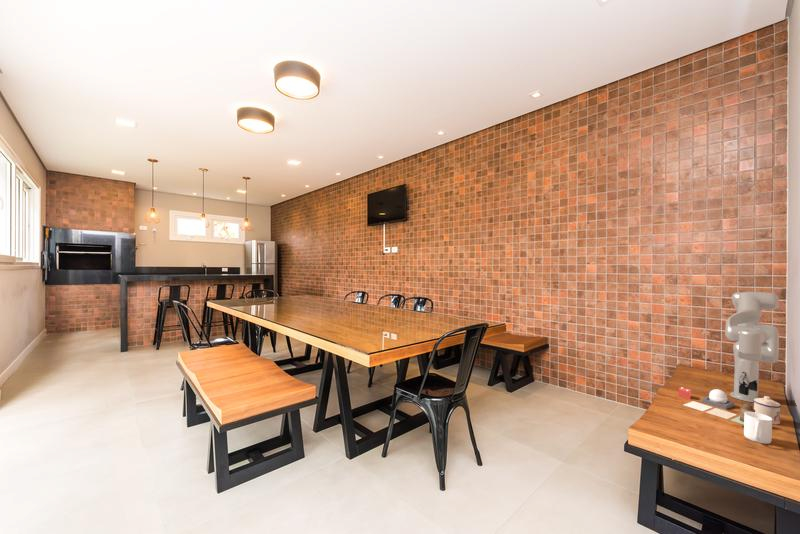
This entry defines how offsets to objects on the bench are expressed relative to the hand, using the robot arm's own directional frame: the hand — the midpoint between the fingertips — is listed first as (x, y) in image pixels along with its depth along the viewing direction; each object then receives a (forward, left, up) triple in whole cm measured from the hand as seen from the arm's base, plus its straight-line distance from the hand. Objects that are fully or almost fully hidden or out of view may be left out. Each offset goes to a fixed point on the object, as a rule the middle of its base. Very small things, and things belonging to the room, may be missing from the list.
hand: (748, 392), depth 162 cm
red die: (-8, -28, -15) cm, 33 cm away
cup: (+18, +9, -15) cm, 25 cm away
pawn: (+1, 0, -14) cm, 14 cm away
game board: (+1, -9, -15) cm, 18 cm away
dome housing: (-12, -15, -15) cm, 25 cm away
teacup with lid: (-14, +3, -15) cm, 21 cm away
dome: (-12, -15, -13) cm, 24 cm away
